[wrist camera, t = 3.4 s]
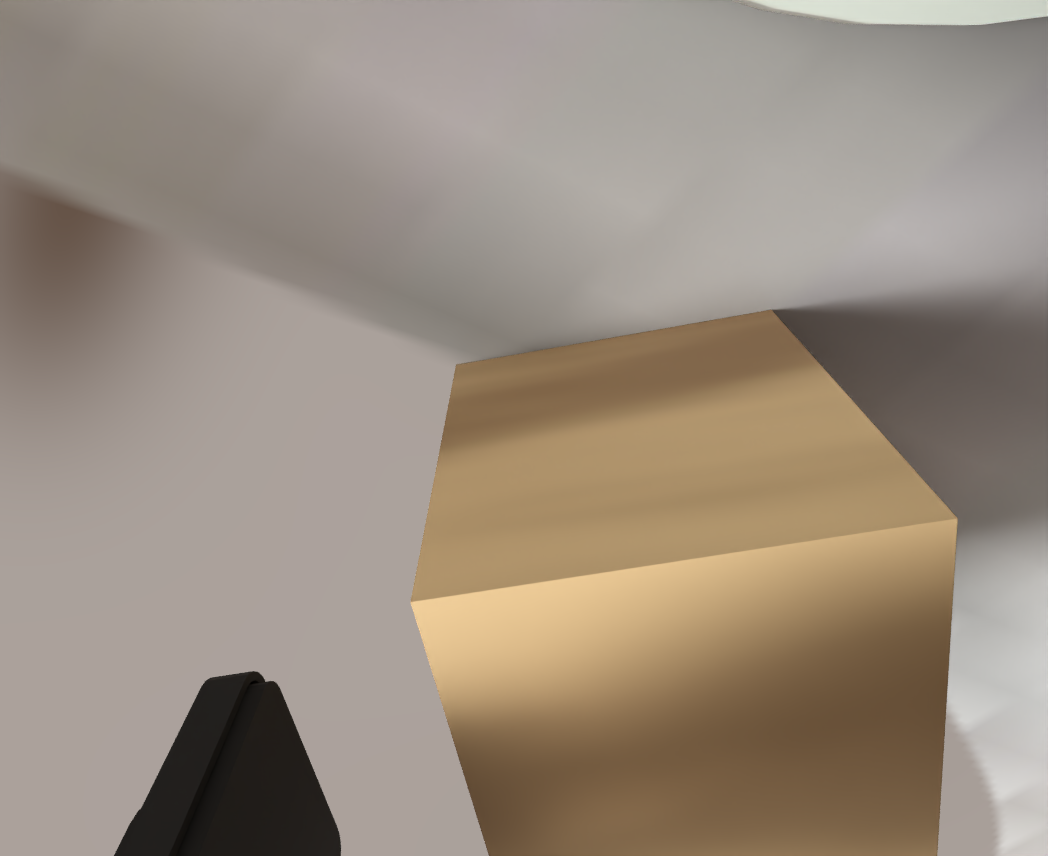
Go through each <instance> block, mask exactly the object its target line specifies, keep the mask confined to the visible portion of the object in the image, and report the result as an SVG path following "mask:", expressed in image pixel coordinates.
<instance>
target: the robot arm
mask: <svg viewBox="0 0 1048 856" xmlns="http://www.w3.org/2000/svg"><path fill="white" fill-rule="evenodd" d="M340 843H341V842H340V835H339V831H338V828H337V825H336V823H335V821H334V818H333V816H332V814H331V811H330V809H329V806H328V804H327V801H326V799H325V796H324V794H323V792H322V789H321V787H320V784H319V782H318V779H317V777H316V775H315V772H314V770H313V767H312V765H311V762H310V760H309V758H308V755H307V753H306V750H305V748H304V746H303V743H302V741H301V738H300V736H299V733H298V731H297V729H296V726H295V724H294V721H293V719H292V716H291V714H290V712H289V709H288V707H287V704H286V702H285V700H284V697H283V695H282V692H281V690H280V688H279V686H278V685H277V683H275V682H274V681H269V682H265V680H264V678H263V676H262V675H261V674H260V673H258V672H254V671H253V672H245V673H239V674H232V675H226V676H219V677H213V678H210V679H208V680H206V681H205V683H204V684H203V685H202V687H201V689H200V691H199V693H198V695H197V697H196V699H195V701H194V703H193V705H192V707H191V709H190V711H189V713H188V715H187V717H186V719H185V721H184V723H183V725H182V727H181V729H180V731H179V733H178V736H177V737H176V739H175V742H174V743H173V746H172V747H171V749H170V751H169V753H168V756H167V757H166V759H165V761H164V763H163V765H162V767H161V769H160V771H159V773H158V776H157V778H156V780H155V782H154V784H153V786H152V788H151V790H150V792H149V794H148V796H147V798H146V800H145V802H144V804H143V806H142V808H141V809H140V810H139V811H138V812H137V814H136V815H135V817H134V819H133V820H132V821H131V823H130V825H129V827H128V829H127V831H126V833H125V835H124V837H123V839H122V841H121V843H120V845H119V847H118V849H117V851H116V853H115V855H114V856H341V844H340Z"/></svg>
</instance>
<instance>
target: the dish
mask: <svg viewBox="0 0 1048 856" xmlns="http://www.w3.org/2000/svg"><path fill="white" fill-rule="evenodd" d="M732 1H735V2H738V3H741V4H744V5H747V6H750V7H753V8H756V9H759V10H764V11H770V12H776V13H782V14H788V15H794V16H800V17H806V18H812V19H818V20H824V21H830V22H836V23H842V24H871V25H983V24H991V23H999V22H1006V21H1014V20H1022V19H1029V18H1037V17H1045V16H1048V0H732Z"/></svg>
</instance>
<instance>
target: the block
mask: <svg viewBox="0 0 1048 856" xmlns="http://www.w3.org/2000/svg"><path fill="white" fill-rule="evenodd" d="M957 521H958V518H957V517H956V516H955V515H954V514H953V513H952V511H951V510H950V509H949V508H948V507H947V506H946V505H945V504H944V503H943V501H942V500H941V499H940V498H939V497H938V496H937V495H936V494H935V492H934V491H933V490H932V489H931V488H930V487H929V486H928V485H927V483H926V482H925V481H924V480H923V479H922V478H921V477H920V476H919V475H918V473H917V472H916V471H915V470H914V469H913V468H912V467H911V466H910V464H909V463H908V462H907V461H906V460H905V459H904V458H903V457H902V455H901V454H900V453H899V452H898V451H897V450H896V449H895V448H894V447H893V445H892V444H891V443H890V442H889V441H888V440H887V439H886V438H885V436H884V435H883V434H882V433H881V432H880V431H879V430H878V429H877V427H876V426H875V425H874V424H873V423H872V422H871V421H870V420H869V419H868V417H867V416H866V415H865V414H864V413H863V412H862V411H861V410H860V408H859V407H858V406H857V405H856V404H855V403H854V402H853V401H852V400H851V398H850V397H849V396H848V395H847V394H846V393H845V392H844V391H843V389H842V388H841V387H840V386H839V385H838V384H837V383H836V382H835V380H834V379H833V378H832V377H831V376H830V375H829V374H828V373H827V372H826V370H825V369H824V368H823V367H822V366H821V365H820V364H819V363H818V361H817V360H816V359H815V358H814V357H813V356H812V355H811V354H810V352H809V351H808V350H807V349H806V348H805V347H804V346H803V345H802V344H801V342H800V341H799V340H798V339H797V338H796V337H795V336H794V335H793V333H792V332H791V331H790V330H789V329H788V328H787V327H786V326H785V325H784V323H783V322H782V321H781V320H780V319H779V318H778V317H777V316H776V314H775V313H774V312H773V311H772V310H767V311H761V312H756V313H750V314H744V315H739V316H733V317H727V318H722V319H716V320H710V321H704V322H699V323H693V324H687V325H682V326H676V327H670V328H665V329H659V330H653V331H647V332H642V333H636V334H630V335H625V336H619V337H613V338H608V339H602V340H596V341H590V342H585V343H579V344H573V345H568V346H562V347H556V348H551V349H545V350H539V351H533V352H528V353H522V354H516V355H511V356H505V357H499V358H494V359H488V360H482V361H476V362H471V363H465V364H464V363H460V364H456V368H455V373H454V379H453V384H452V389H451V395H450V400H449V405H448V410H447V415H446V421H445V426H444V431H443V436H442V441H441V446H440V452H439V457H438V462H437V467H436V472H435V478H434V483H433V488H432V493H431V498H430V504H429V509H428V514H427V519H426V524H425V530H424V535H423V540H422V545H421V551H420V556H419V561H418V566H417V571H416V576H415V582H414V587H413V592H412V597H411V605H412V608H413V611H414V615H415V618H416V621H417V624H418V628H419V631H420V634H421V637H422V641H423V644H424V647H425V650H426V654H427V657H428V660H429V663H430V667H431V670H432V673H433V676H434V679H435V682H436V686H437V689H438V692H439V696H440V699H441V702H442V705H443V708H444V712H445V715H446V718H447V721H448V725H449V728H450V731H451V734H452V738H453V741H454V744H455V747H456V750H457V754H458V757H459V760H460V763H461V767H462V770H463V773H464V776H465V780H466V783H467V786H468V789H469V793H470V796H471V799H472V802H473V805H474V809H475V812H476V815H477V818H478V822H479V825H480V828H481V831H482V834H483V838H484V841H485V844H486V847H487V850H488V854H489V856H937V850H938V834H939V833H938V832H939V818H940V801H941V784H942V768H943V751H944V736H945V719H946V703H947V686H948V670H949V653H950V637H951V620H952V604H953V587H954V571H955V554H956V538H957Z"/></svg>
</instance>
